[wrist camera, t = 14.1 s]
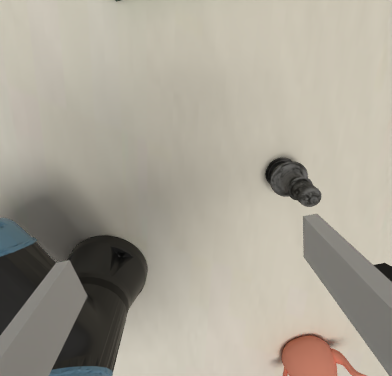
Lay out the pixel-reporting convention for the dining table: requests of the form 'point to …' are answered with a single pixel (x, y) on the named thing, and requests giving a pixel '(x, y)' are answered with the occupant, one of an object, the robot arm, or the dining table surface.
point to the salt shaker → (292, 181)
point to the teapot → (313, 358)
